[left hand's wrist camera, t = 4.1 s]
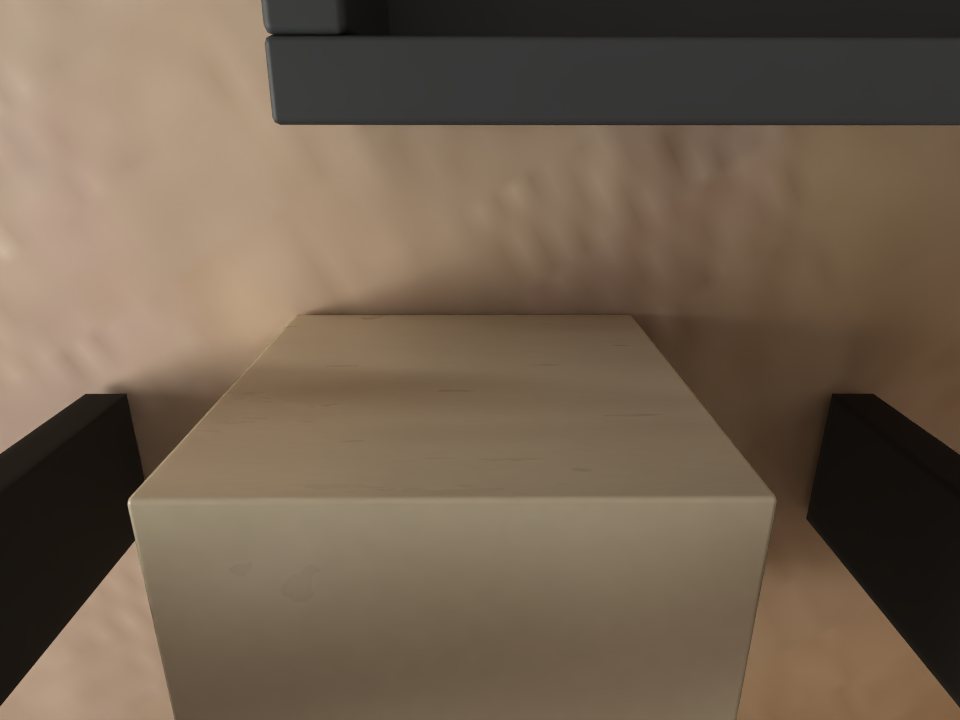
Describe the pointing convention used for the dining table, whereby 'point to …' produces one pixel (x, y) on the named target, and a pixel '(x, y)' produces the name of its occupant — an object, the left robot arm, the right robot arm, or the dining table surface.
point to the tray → (613, 62)
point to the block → (455, 530)
